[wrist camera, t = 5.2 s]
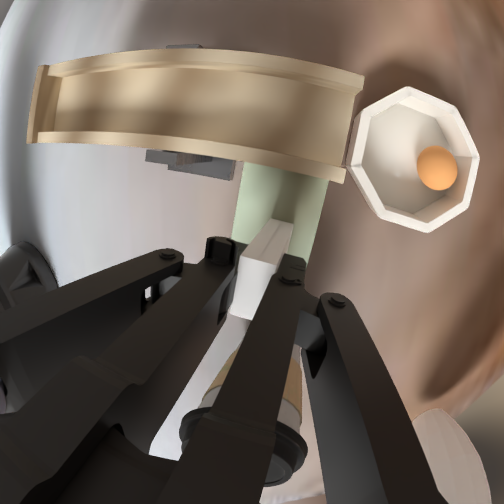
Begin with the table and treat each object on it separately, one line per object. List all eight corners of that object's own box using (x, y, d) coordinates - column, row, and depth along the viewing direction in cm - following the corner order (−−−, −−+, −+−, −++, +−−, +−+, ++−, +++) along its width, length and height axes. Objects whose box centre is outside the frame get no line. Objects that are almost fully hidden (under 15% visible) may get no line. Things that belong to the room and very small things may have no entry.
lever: (51, 219, 20) (26, 230, 17) (64, 70, 15) (38, 66, 12) (308, 280, 19) (310, 305, 16) (354, 86, 14) (367, 73, 11)
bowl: (336, 198, 23) (340, 206, 19) (360, 85, 19) (368, 72, 15) (438, 230, 21) (456, 243, 17) (462, 125, 17) (484, 122, 14)
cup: (471, 375, 25) (517, 513, 5) (436, 425, 28) (454, 547, 9) (407, 374, 27) (433, 547, 7) (375, 426, 30) (375, 566, 10)
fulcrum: (106, 159, 26) (55, 167, 19) (123, 61, 22) (74, 47, 15) (232, 179, 24) (198, 191, 17) (255, 60, 20) (229, 27, 13)
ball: (459, 200, 17) (430, 188, 20) (469, 157, 16) (438, 150, 19) (434, 189, 16) (403, 178, 19) (444, 142, 15) (412, 137, 18)
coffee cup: (223, 304, 28) (152, 415, 15) (318, 305, 26) (307, 440, 12) (235, 372, 31) (189, 477, 18) (316, 376, 29) (301, 495, 15)
